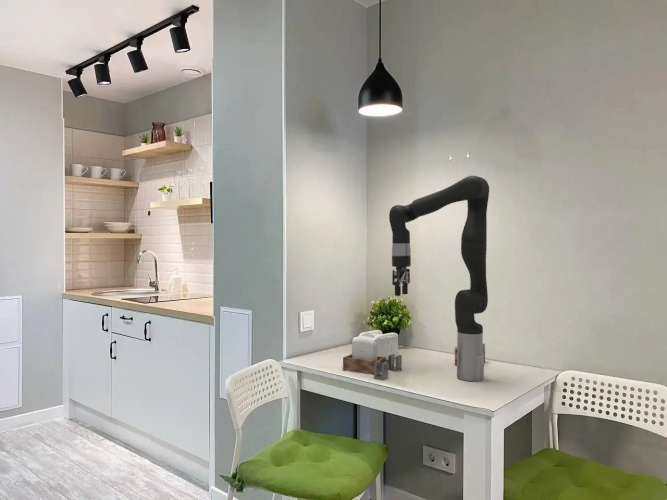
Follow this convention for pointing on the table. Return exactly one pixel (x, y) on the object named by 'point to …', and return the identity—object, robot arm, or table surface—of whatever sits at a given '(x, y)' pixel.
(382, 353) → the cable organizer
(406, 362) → the table surface
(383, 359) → the wooden box
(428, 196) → the robot arm
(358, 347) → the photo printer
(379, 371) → the cable clip
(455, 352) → the medicine box
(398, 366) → the cable clip
